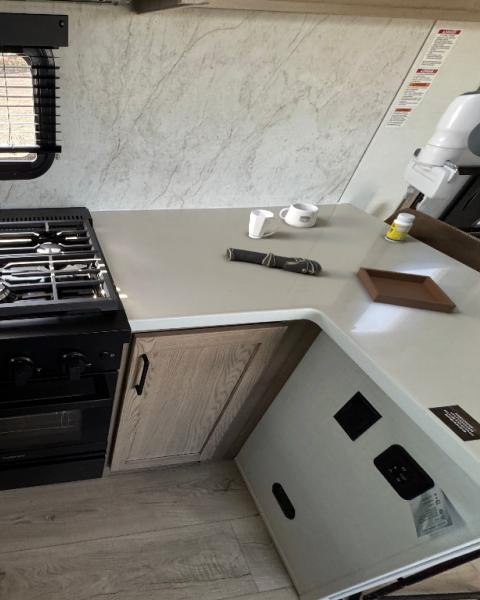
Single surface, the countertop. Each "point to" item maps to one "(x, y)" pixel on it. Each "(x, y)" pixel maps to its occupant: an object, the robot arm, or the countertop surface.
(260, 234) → the cup
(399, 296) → the tray
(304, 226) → the mug
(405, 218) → the supplement bottle
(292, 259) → the twine-tied cloth roll
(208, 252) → the countertop surface
